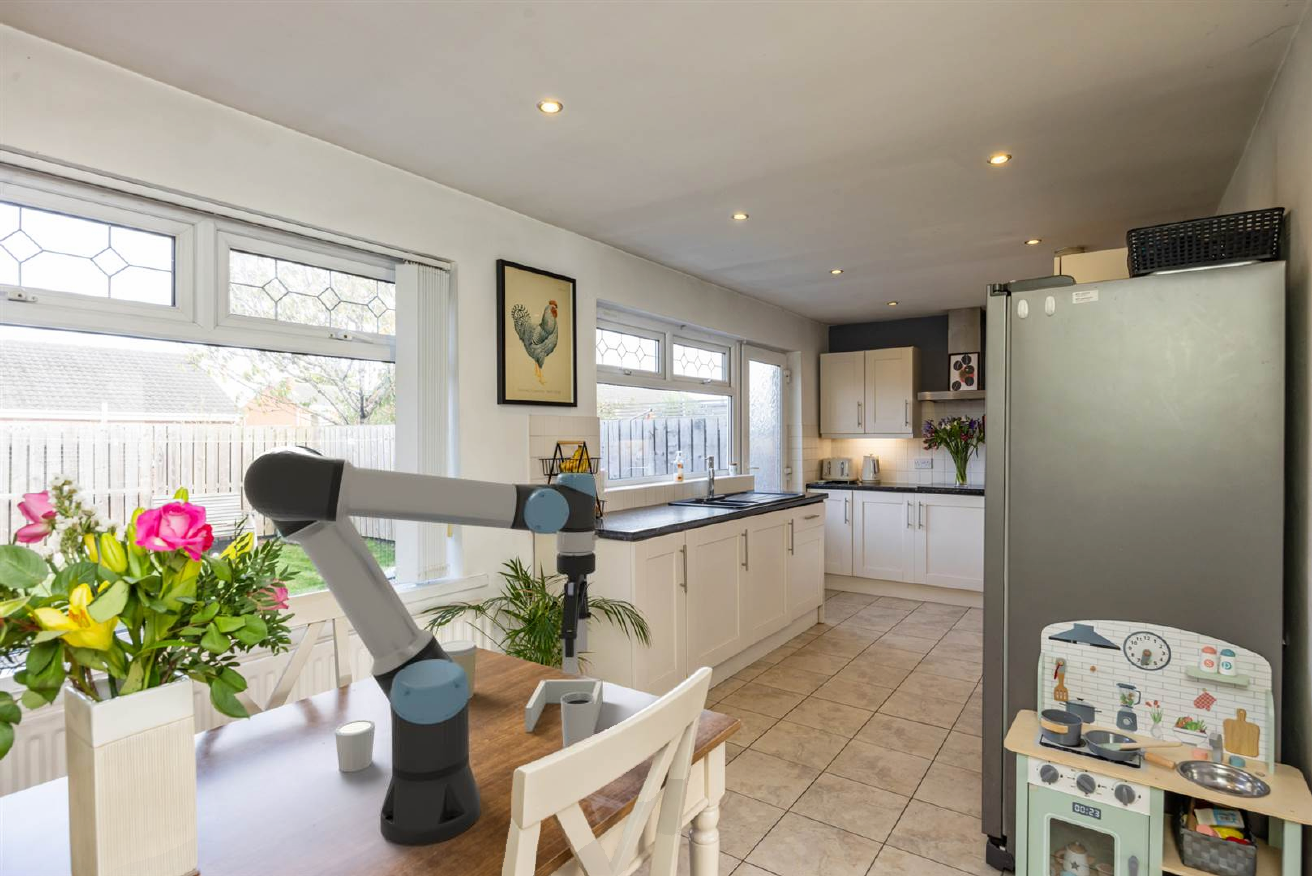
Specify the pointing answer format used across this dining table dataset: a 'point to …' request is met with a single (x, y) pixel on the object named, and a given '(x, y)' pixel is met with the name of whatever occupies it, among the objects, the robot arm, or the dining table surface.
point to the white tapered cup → (355, 745)
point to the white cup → (577, 717)
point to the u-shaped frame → (555, 691)
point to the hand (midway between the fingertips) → (575, 662)
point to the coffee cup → (463, 658)
